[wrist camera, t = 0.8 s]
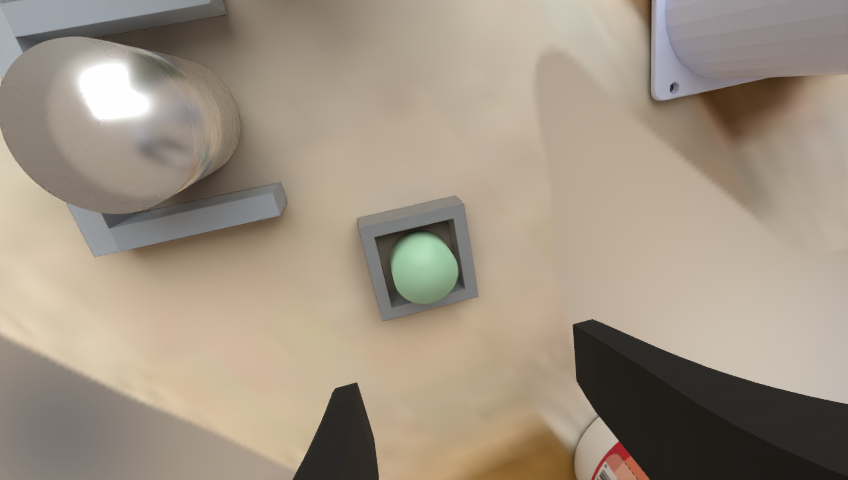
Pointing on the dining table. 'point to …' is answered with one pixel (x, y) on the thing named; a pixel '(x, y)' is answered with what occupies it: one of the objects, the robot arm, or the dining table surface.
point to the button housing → (411, 218)
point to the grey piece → (112, 14)
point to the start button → (423, 267)
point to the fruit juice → (604, 456)
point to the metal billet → (115, 122)
